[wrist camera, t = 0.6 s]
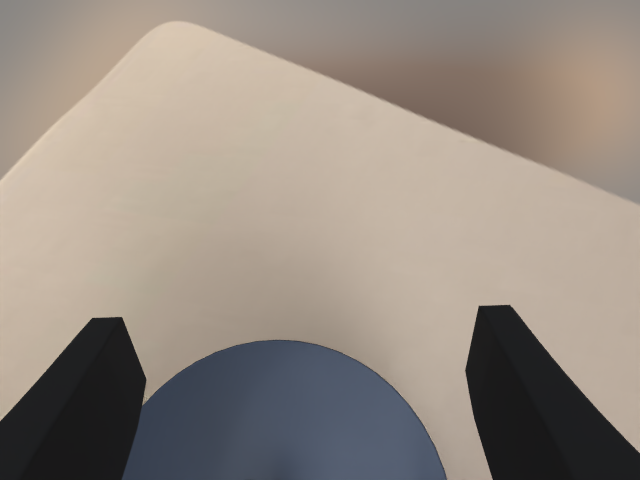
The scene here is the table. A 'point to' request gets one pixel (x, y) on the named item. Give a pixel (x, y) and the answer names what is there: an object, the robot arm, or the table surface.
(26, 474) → the robot arm
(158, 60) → the table surface
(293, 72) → the table surface
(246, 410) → the pot lid
